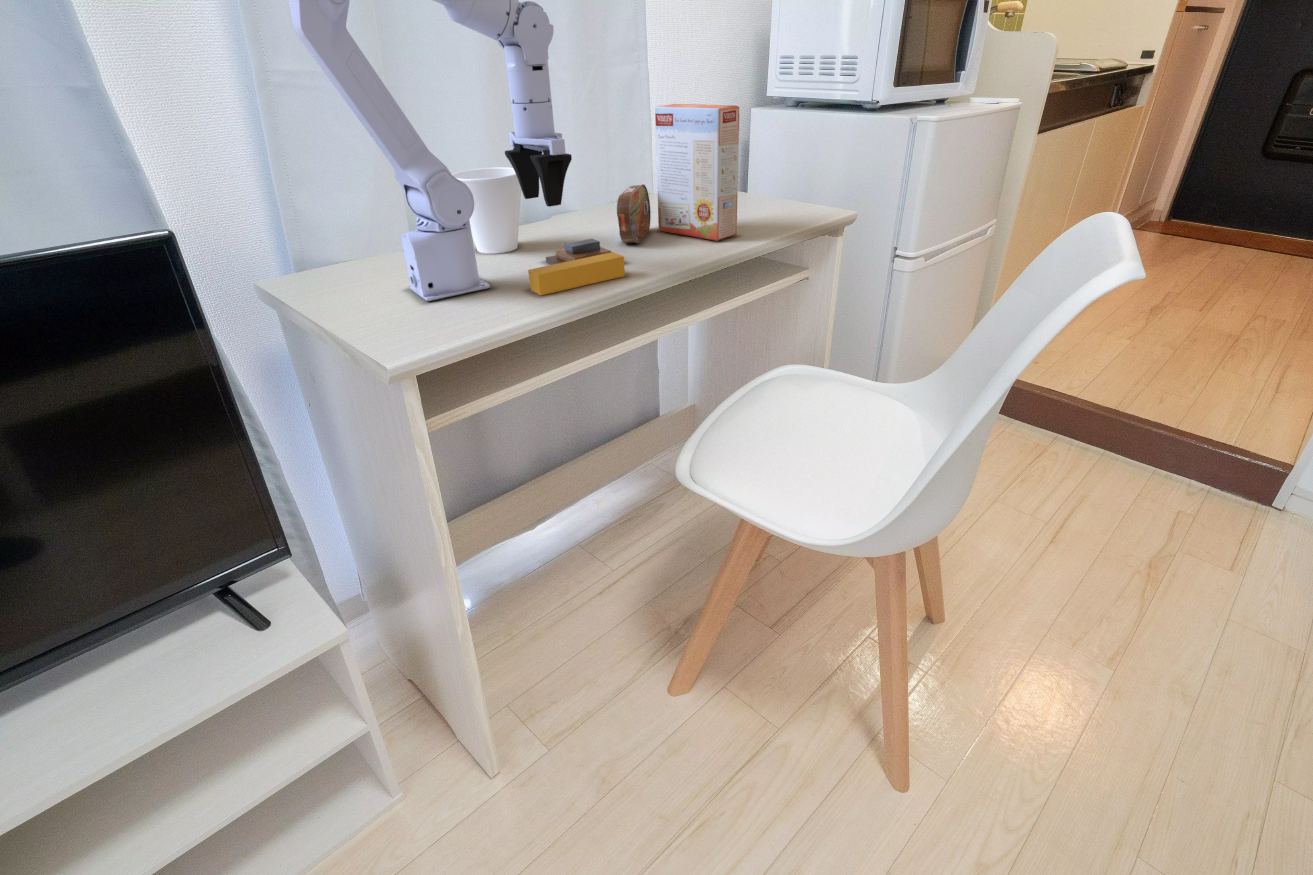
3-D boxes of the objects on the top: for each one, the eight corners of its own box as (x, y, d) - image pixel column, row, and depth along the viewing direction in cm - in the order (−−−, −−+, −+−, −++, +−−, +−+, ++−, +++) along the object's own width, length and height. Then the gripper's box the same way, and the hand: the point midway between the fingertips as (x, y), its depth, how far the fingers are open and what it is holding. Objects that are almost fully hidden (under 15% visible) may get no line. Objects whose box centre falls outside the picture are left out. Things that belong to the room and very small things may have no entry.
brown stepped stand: (572, 274, 105) (570, 253, 104) (545, 262, 112) (543, 242, 110) (622, 263, 110) (621, 243, 108) (594, 252, 116) (592, 232, 114)
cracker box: (738, 235, 122) (741, 104, 112) (716, 242, 119) (718, 107, 108) (679, 225, 131) (677, 102, 121) (657, 231, 127) (653, 105, 117)
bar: (540, 295, 97) (537, 274, 95) (530, 290, 99) (527, 269, 98) (625, 276, 103) (624, 256, 102) (613, 271, 106) (612, 251, 104)
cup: (483, 238, 127) (472, 166, 121) (543, 241, 124) (534, 167, 118) (449, 256, 117) (435, 178, 111) (513, 259, 114) (502, 179, 108)
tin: (634, 249, 117) (631, 197, 113) (616, 248, 118) (613, 197, 113) (652, 228, 130) (650, 180, 126) (636, 227, 130) (633, 180, 126)
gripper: (580, 102, 95) (589, 205, 101) (535, 98, 105) (545, 191, 112) (533, 106, 91) (545, 212, 98) (491, 101, 102) (504, 197, 109)
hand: (542, 201), depth 105 cm, fingers open, 7 cm apart
